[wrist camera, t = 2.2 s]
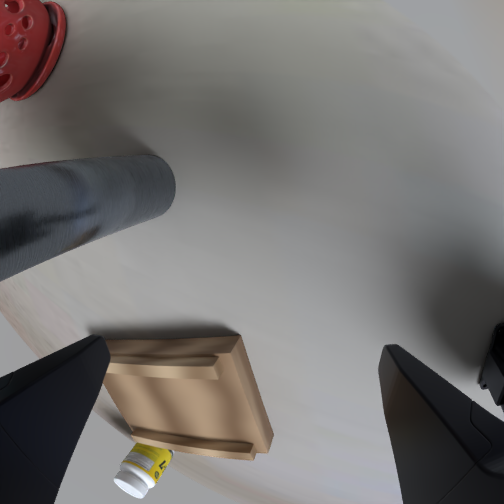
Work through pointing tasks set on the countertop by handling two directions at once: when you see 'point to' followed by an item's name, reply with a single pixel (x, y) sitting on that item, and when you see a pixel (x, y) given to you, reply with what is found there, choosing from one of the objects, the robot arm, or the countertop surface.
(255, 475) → the countertop surface
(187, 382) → the stand
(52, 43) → the plant pot
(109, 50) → the countertop surface
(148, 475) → the supplement bottle
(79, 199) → the slim bottle
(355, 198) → the countertop surface
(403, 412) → the robot arm
